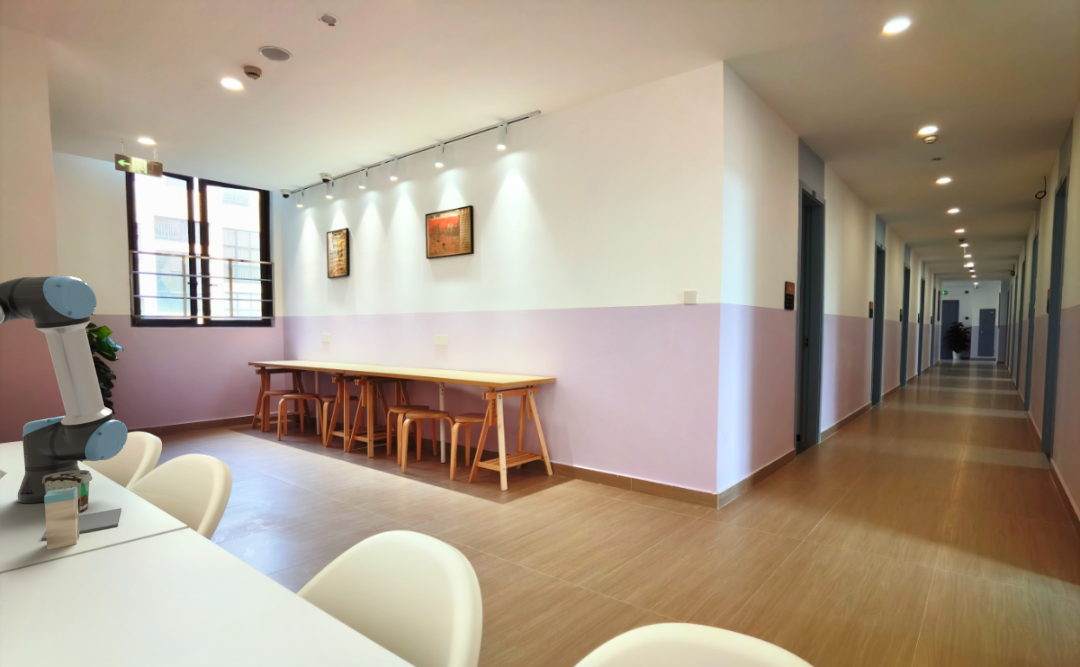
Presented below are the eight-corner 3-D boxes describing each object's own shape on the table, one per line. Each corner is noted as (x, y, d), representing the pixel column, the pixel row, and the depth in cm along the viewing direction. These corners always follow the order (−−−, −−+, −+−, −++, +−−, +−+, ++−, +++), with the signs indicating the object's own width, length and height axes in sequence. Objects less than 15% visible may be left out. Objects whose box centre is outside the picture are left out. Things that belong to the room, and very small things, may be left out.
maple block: (50, 542, 124) (48, 491, 124) (79, 536, 127) (77, 486, 126) (46, 549, 120) (44, 496, 119) (76, 543, 123) (74, 492, 122)
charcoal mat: (51, 522, 136) (51, 520, 136) (121, 510, 144) (121, 508, 144) (41, 540, 125) (41, 538, 125) (117, 526, 133) (117, 523, 133)
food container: (105, 505, 149) (104, 469, 149) (85, 513, 143) (83, 476, 142) (65, 504, 150) (64, 469, 150) (43, 512, 144) (41, 475, 144)
